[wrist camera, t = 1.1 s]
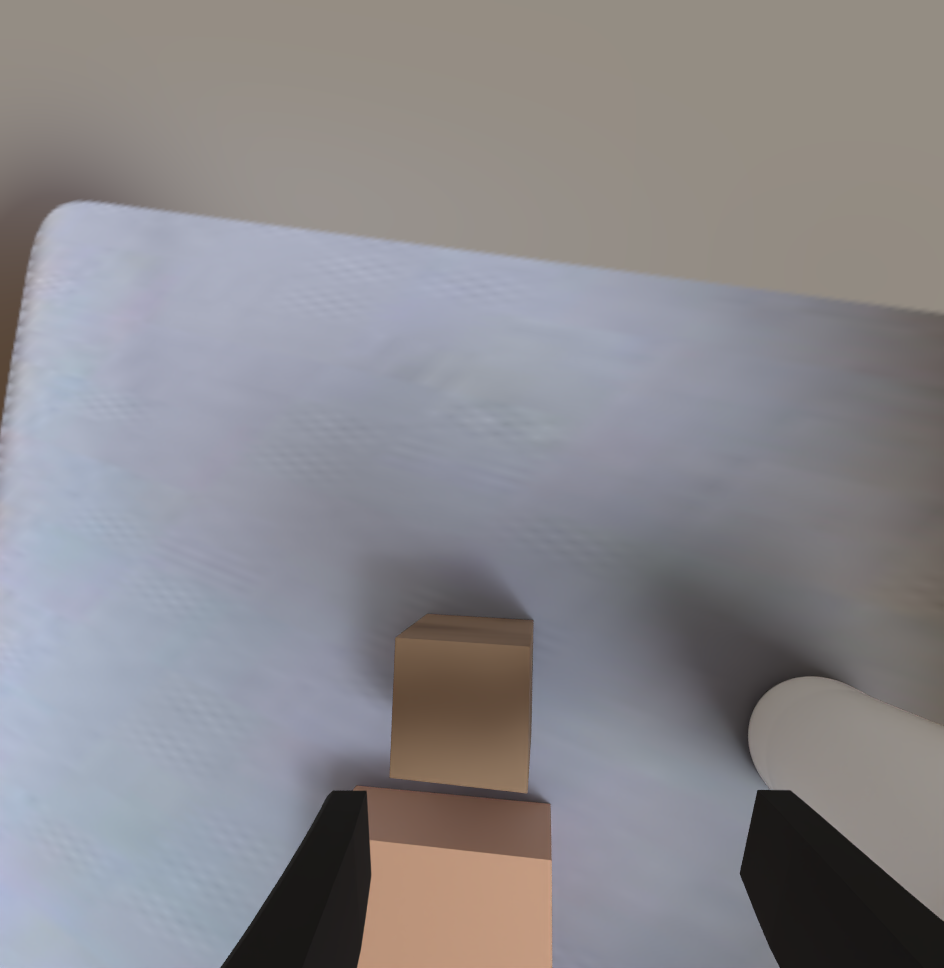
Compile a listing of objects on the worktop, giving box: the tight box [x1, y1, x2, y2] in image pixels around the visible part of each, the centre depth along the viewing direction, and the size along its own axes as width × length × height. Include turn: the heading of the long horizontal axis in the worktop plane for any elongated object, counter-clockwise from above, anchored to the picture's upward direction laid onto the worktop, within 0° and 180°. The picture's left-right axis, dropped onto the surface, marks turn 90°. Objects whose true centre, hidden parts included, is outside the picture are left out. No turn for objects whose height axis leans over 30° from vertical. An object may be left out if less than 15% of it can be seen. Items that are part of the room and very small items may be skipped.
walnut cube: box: [390, 614, 533, 793], centre depth 20 cm, size 5×5×5 cm
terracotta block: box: [353, 785, 552, 968], centre depth 20 cm, size 9×9×4 cm
